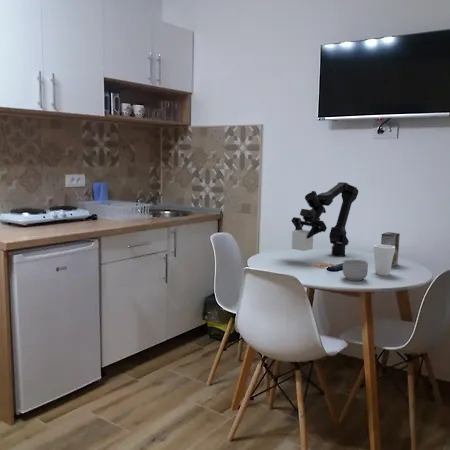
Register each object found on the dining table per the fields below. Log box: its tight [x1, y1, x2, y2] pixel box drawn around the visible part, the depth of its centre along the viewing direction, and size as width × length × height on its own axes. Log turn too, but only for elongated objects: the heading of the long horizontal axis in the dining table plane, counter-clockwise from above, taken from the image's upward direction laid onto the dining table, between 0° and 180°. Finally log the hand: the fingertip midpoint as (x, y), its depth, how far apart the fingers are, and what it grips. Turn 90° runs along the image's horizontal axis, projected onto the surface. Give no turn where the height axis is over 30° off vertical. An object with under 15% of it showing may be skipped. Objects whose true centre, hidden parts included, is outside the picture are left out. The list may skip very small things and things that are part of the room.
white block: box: [291, 229, 314, 252], centre depth 231 cm, size 7×7×9 cm
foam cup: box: [373, 243, 395, 276], centre depth 213 cm, size 10×9×13 cm
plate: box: [310, 262, 337, 270], centre depth 225 cm, size 13×13×1 cm
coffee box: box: [380, 231, 401, 268], centre depth 233 cm, size 9×6×16 cm
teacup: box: [342, 258, 369, 282], centre depth 204 cm, size 14×11×8 cm
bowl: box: [320, 259, 330, 267], centre depth 225 cm, size 4×4×2 cm
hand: (301, 236), depth 230 cm, fingers closed on white block, 7 cm apart
